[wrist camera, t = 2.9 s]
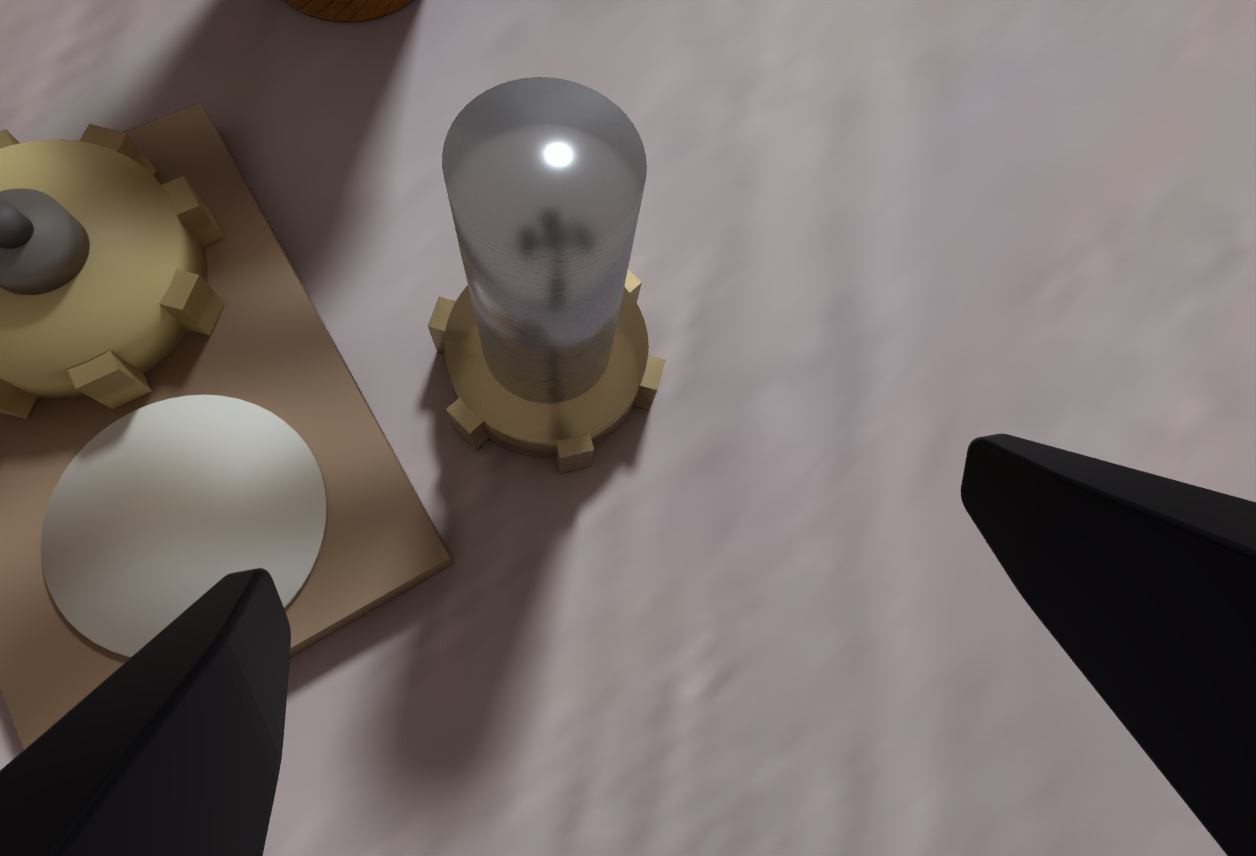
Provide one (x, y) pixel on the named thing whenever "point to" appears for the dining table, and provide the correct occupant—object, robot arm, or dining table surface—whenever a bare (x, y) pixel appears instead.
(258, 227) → the gear board
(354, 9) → the disposable coffee cup
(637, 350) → the pinion
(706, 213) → the dining table surface
